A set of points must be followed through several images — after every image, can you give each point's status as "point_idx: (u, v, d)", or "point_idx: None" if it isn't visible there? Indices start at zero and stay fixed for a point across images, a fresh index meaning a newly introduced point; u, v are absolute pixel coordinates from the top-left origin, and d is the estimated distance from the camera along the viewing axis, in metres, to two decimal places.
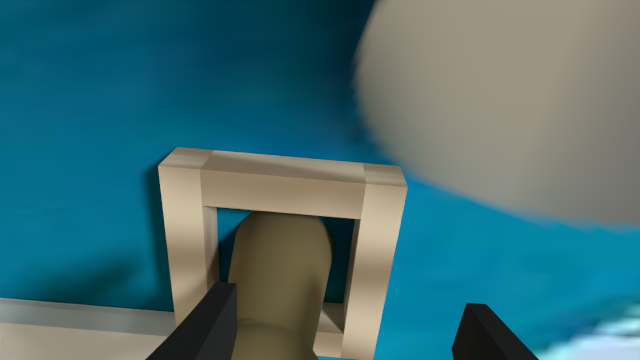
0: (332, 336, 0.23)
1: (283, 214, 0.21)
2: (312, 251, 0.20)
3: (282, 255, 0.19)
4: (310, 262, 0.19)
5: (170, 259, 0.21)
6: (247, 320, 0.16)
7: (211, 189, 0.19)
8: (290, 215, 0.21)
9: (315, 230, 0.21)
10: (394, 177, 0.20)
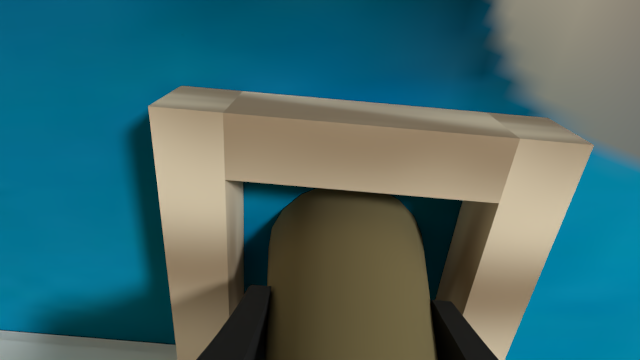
0: None
1: (353, 198, 0.13)
2: (410, 258, 0.12)
3: (368, 266, 0.11)
4: (412, 278, 0.11)
5: (170, 271, 0.13)
6: None
7: (242, 150, 0.11)
8: (364, 199, 0.13)
9: (405, 224, 0.13)
10: (556, 131, 0.11)
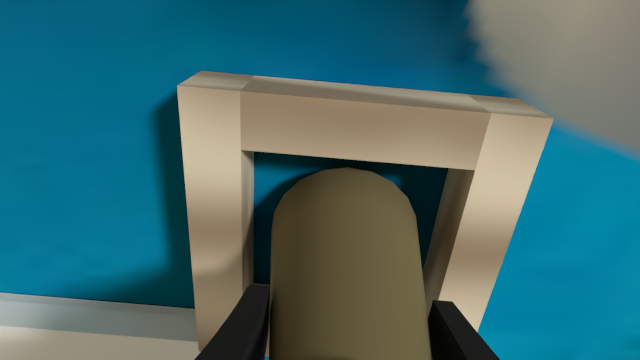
0: None
1: (350, 180, 0.14)
2: (403, 235, 0.13)
3: (363, 241, 0.12)
4: (405, 252, 0.12)
5: (191, 232, 0.15)
6: None
7: (255, 123, 0.13)
8: (360, 182, 0.14)
9: (398, 204, 0.14)
10: (524, 108, 0.13)
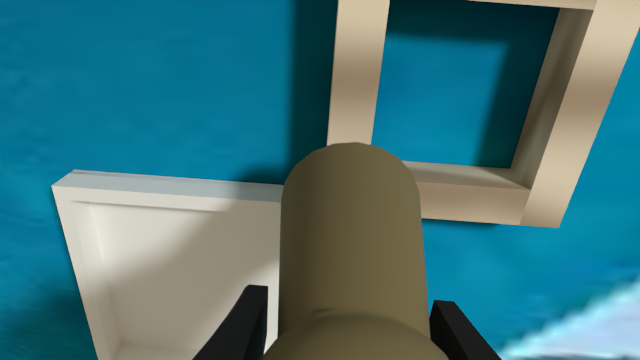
0: (515, 194, 0.19)
1: (359, 154, 0.15)
2: (407, 206, 0.14)
3: (370, 209, 0.12)
4: (408, 221, 0.13)
5: (334, 81, 0.17)
6: (336, 308, 0.09)
7: None
8: (368, 156, 0.15)
9: (404, 179, 0.15)
10: None
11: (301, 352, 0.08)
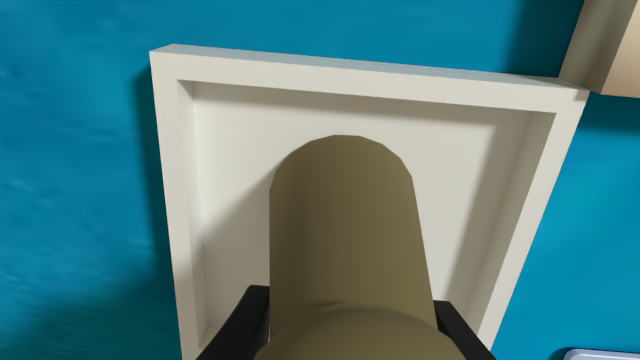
0: None
1: (362, 147, 0.14)
2: (411, 206, 0.13)
3: (377, 201, 0.11)
4: (414, 220, 0.12)
5: None
6: (349, 301, 0.08)
7: None
8: (372, 150, 0.14)
9: (406, 178, 0.14)
10: None
11: (317, 345, 0.07)
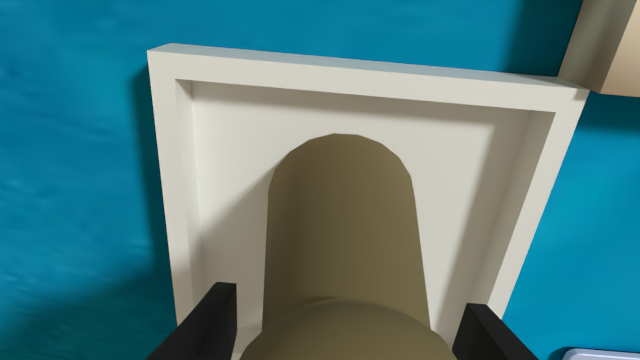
0: None
1: (360, 146, 0.14)
2: (408, 204, 0.13)
3: (373, 199, 0.11)
4: (410, 219, 0.12)
5: None
6: (339, 296, 0.08)
7: None
8: (370, 149, 0.14)
9: (404, 177, 0.14)
10: None
11: (303, 339, 0.07)
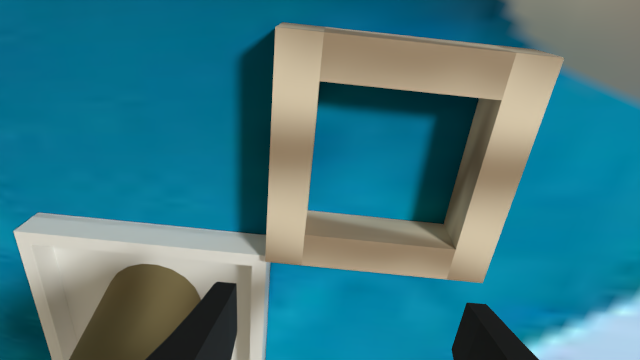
0: (442, 252, 0.21)
1: (151, 276, 0.23)
2: (167, 317, 0.22)
3: (133, 321, 0.21)
4: (161, 329, 0.21)
5: (272, 152, 0.18)
6: None
7: (333, 59, 0.16)
8: (158, 277, 0.23)
9: (179, 294, 0.23)
10: (540, 53, 0.17)
11: None
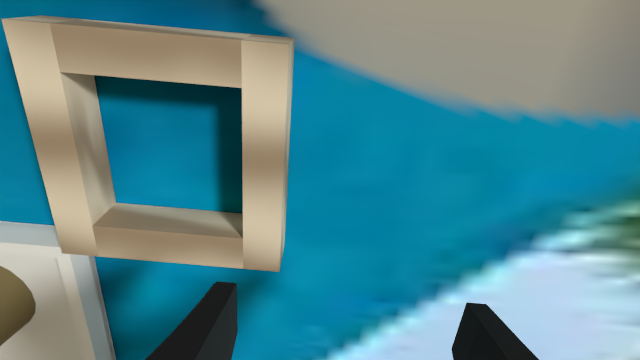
0: (230, 242, 0.21)
1: None
2: None
3: None
4: None
5: (36, 143, 0.19)
6: None
7: (66, 50, 0.17)
8: None
9: None
10: (280, 40, 0.17)
11: None
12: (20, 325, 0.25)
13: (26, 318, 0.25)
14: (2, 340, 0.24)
